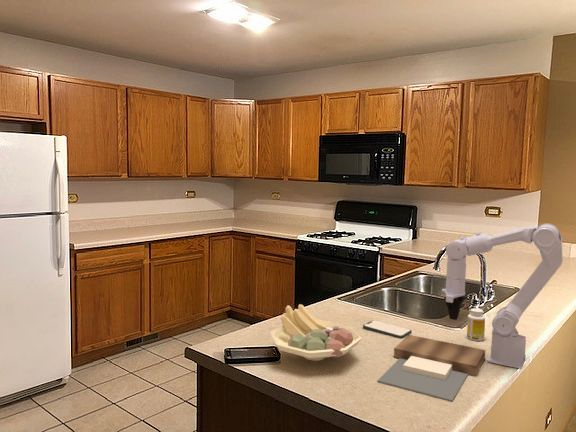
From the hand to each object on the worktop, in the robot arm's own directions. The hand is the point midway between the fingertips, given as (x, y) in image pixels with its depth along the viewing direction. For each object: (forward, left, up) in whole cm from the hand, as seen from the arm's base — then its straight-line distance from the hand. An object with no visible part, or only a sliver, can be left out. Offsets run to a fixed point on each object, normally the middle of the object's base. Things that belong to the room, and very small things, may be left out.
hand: (453, 319), depth 150 cm
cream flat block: (+2, +20, -10) cm, 23 cm away
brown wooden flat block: (+2, +9, -10) cm, 14 cm away
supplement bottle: (-4, -15, -11) cm, 19 cm away
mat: (+2, +26, -10) cm, 28 cm away
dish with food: (+35, +29, -11) cm, 46 cm away
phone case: (+24, -6, -11) cm, 27 cm away
